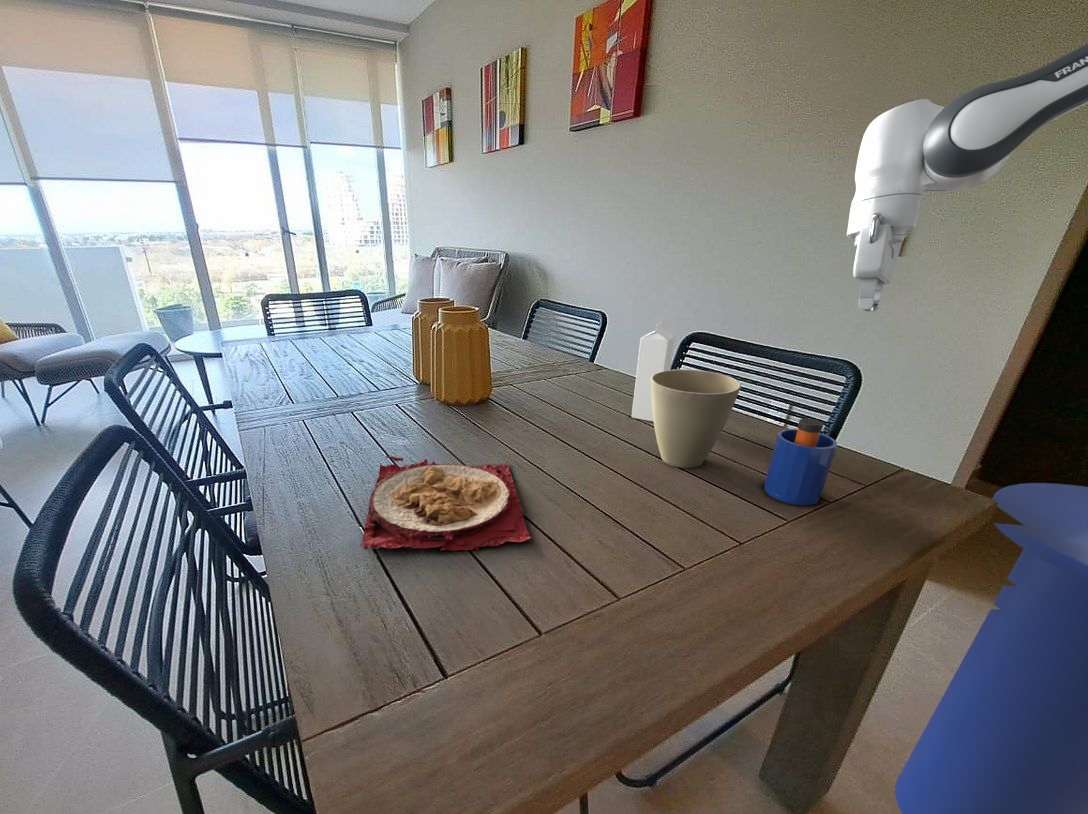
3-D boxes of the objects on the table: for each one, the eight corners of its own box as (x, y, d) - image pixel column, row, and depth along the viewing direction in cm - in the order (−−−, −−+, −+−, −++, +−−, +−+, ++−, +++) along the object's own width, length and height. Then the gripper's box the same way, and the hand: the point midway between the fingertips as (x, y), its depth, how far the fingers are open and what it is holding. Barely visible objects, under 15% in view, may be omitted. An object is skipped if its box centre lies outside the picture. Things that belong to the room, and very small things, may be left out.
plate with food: (360, 559, 66) (357, 538, 64) (381, 470, 89) (379, 454, 87) (531, 549, 68) (532, 529, 66) (508, 465, 91) (508, 449, 89)
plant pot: (634, 443, 99) (643, 368, 93) (707, 445, 98) (722, 369, 91) (650, 477, 86) (662, 392, 79) (735, 479, 84) (755, 393, 78)
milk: (663, 415, 115) (678, 321, 106) (656, 422, 110) (671, 325, 101) (638, 410, 118) (650, 319, 109) (630, 417, 113) (642, 323, 104)
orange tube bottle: (799, 485, 81) (818, 419, 76) (806, 494, 78) (827, 426, 73) (778, 483, 81) (796, 417, 76) (785, 492, 78) (803, 425, 73)
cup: (808, 483, 83) (824, 430, 79) (827, 507, 76) (846, 450, 71) (757, 480, 84) (771, 427, 80) (772, 503, 77) (788, 446, 73)
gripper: (904, 205, 68) (888, 306, 71) (909, 227, 82) (895, 311, 85) (849, 213, 72) (836, 309, 75) (863, 233, 86) (852, 313, 90)
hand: (868, 310), depth 80 cm, fingers open, 8 cm apart
